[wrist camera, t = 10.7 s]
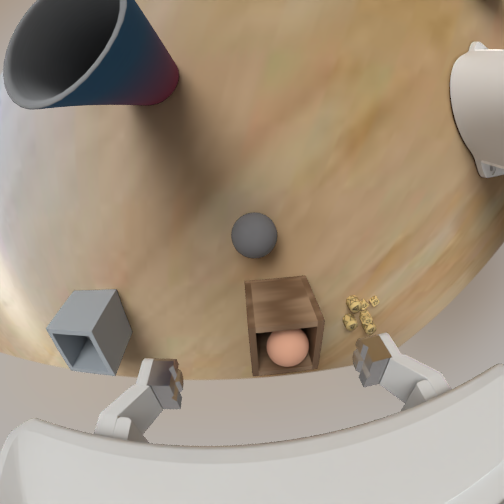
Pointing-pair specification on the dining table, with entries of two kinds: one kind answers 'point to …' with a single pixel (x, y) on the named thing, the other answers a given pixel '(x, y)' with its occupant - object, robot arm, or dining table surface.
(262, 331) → the walnut tube
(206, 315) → the dining table surface
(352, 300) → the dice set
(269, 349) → the terracotta ball
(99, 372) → the grey square open box
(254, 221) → the charcoal ball
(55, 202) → the dining table surface
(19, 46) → the cup
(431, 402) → the robot arm
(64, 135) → the dining table surface
